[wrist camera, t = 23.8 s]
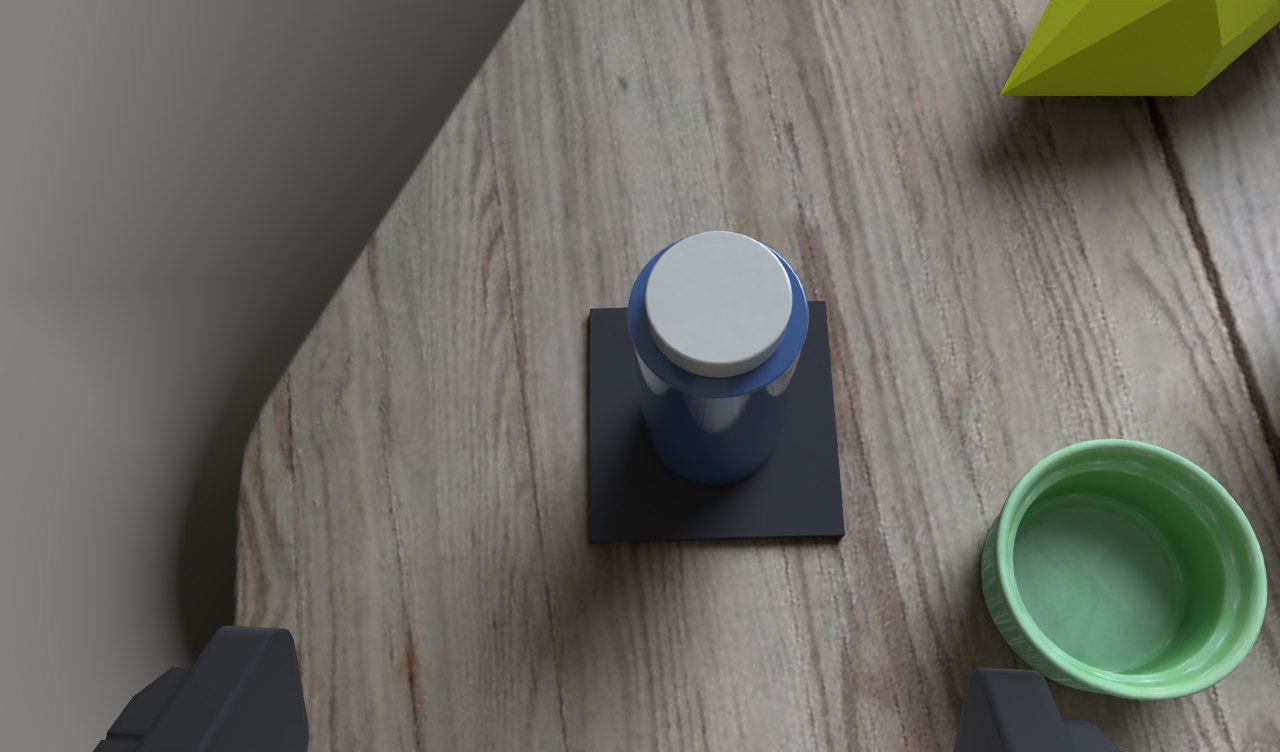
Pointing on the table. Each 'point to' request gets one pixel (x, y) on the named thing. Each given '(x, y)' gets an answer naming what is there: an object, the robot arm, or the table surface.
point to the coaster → (687, 511)
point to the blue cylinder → (716, 353)
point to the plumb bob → (1136, 46)
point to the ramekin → (1125, 572)
